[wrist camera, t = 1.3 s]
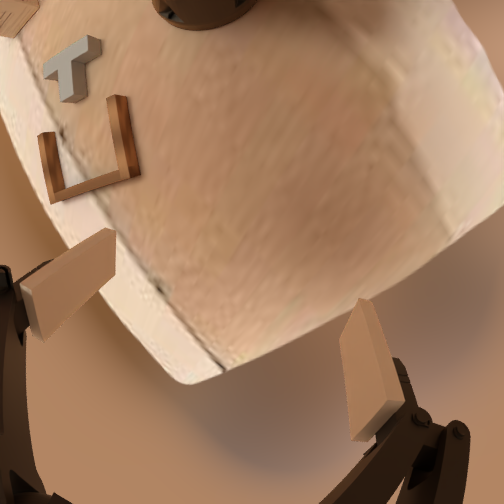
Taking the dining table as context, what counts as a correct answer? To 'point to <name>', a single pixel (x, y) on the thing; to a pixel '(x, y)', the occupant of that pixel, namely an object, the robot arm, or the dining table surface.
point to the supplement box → (15, 15)
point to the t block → (72, 68)
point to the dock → (126, 170)
